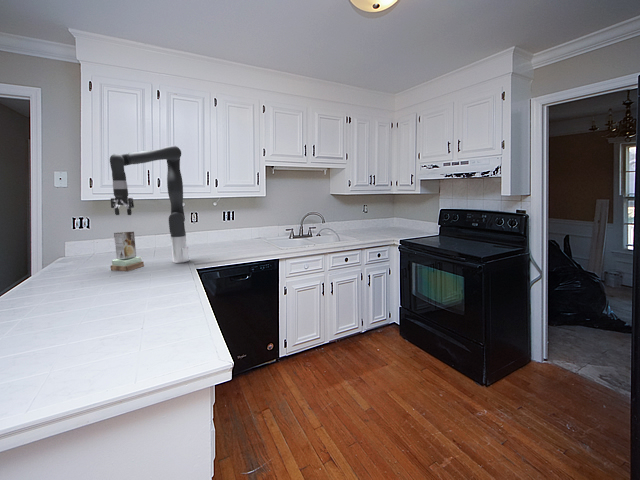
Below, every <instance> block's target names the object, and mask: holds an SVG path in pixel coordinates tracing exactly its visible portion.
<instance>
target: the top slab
mask: <svg viewBox="0 0 640 480" xmlns="http://www.w3.org/2000/svg"><path fill="white" fill-rule="evenodd" d="M139 262H143V261H142V256H136V257H133V258H128V259H117V258H115V259H111V263H112V264H111V265H115V266H128V265H132V264H135V263H139Z"/></svg>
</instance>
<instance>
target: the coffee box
mask: <svg viewBox="0 0 640 480" xmlns="http://www.w3.org/2000/svg"><path fill="white" fill-rule="evenodd" d="M113 236H114V245H115V255H116V259H128V258H133V257H137V247H136V240H135V239H136V238H135V231H121V232H114V233H113Z"/></svg>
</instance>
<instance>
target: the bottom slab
mask: <svg viewBox="0 0 640 480" xmlns="http://www.w3.org/2000/svg"><path fill="white" fill-rule="evenodd" d="M144 266H145V263H144V261H142V262H139V263H135V264H132V265H128V266H115V265H112V264H111V265H110V270H111V271H114V272H115V271H116V272H130V271H134V270H137V269H140V268H141V267H142V268H143V267H144Z"/></svg>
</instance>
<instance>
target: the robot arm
mask: <svg viewBox="0 0 640 480" xmlns="http://www.w3.org/2000/svg"><path fill="white" fill-rule="evenodd" d="M181 157H182V150H181V149H180V148H179V146H176V145H168V146H166V147H163V148H162V147H161V148H158V149H152V150H142V151H141V150H140V151H133V152H128V153H123V154H119V153H113V154H112V155H110V157H109V164H110V169H111V177H112V190H113V191H112V192H113V196H114V197H110V207H111V209H114V213H115V214H114V215H115V216H120V209H119V208H120V206H123V207H125V208H126V212H127V216H131V215H132V212H133V211H132V209H133V208H135V205H134V198H133V197H129V189H128V187H129V186H128V182H127V176H126V172H125V167H126V166H130V165H139V164H145V163H146V164H147V163H151V162H156V161H161V160H166V164H167V174H166V175H167V177H166V182H167V194H168V197H169V201H170V214H169V216H168V228H169V234H170V242H171V253H172V254H171V255H172V262H173V263H176V264H177V263H179V264H180V263H181V264H182V263H186V262H189V261H190V254H189V246H187V245H188V243H187V233H186V229H185V228H186V227H185V221H186V216H185V211H184V203H183V202H184V185H183V183H184V182H183V176H182V172H181Z"/></svg>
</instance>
